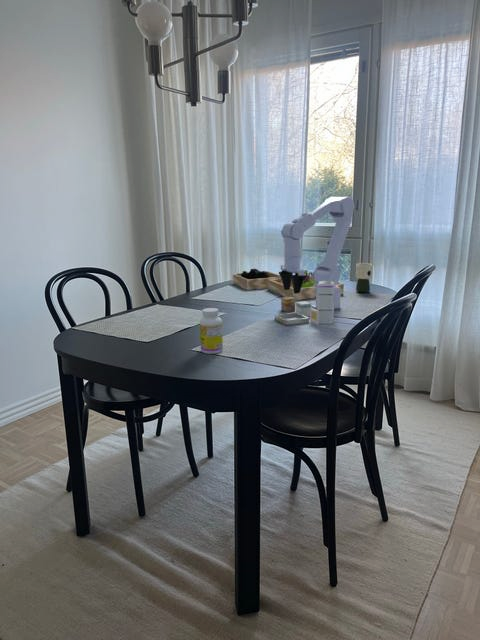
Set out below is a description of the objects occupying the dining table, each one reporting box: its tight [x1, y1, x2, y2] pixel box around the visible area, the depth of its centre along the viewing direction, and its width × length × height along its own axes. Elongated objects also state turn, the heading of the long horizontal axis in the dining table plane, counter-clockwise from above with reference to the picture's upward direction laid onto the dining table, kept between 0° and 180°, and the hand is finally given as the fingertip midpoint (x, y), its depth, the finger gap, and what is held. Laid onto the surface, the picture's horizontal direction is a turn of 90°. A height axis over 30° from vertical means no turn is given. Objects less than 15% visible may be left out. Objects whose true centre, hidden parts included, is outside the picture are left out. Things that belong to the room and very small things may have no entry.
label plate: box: [309, 307, 320, 326], centre depth 169 cm, size 1×5×5 cm, turn 23°
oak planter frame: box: [267, 275, 345, 301], centre depth 221 cm, size 26×26×5 cm
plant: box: [290, 269, 316, 288], centre depth 219 cm, size 20×20×11 cm
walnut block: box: [280, 296, 296, 313], centre depth 188 cm, size 4×4×5 cm
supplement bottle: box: [199, 307, 224, 355], centre depth 141 cm, size 7×7×13 cm
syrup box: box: [317, 281, 335, 325], centre depth 170 cm, size 6×6×14 cm
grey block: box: [295, 300, 312, 317], centre depth 180 cm, size 4×4×5 cm
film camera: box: [241, 268, 270, 280], centre depth 238 cm, size 15×10×9 cm, turn 68°
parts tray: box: [274, 311, 310, 327], centre depth 173 cm, size 9×9×2 cm
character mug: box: [355, 262, 373, 293], centre depth 218 cm, size 11×7×13 cm, turn 153°
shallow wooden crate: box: [232, 270, 281, 291], centre depth 240 cm, size 20×20×5 cm
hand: (291, 291), depth 180 cm, fingers open, 7 cm apart
